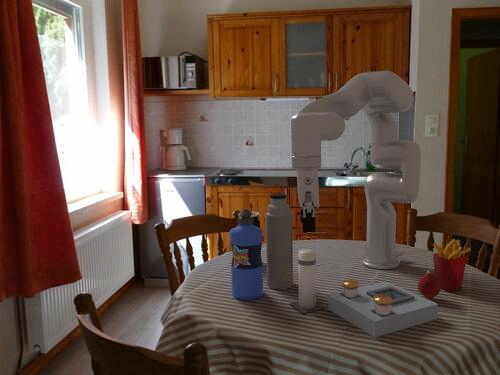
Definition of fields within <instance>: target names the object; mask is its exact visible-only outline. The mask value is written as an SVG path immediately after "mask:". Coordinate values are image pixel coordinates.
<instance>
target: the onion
mask: <svg viewBox="0 0 500 375" xmlns="http://www.w3.org/2000/svg"><path fill="white" fill-rule="evenodd" d="M417 289H418V292H419V293H420V294H421V295H422V297H423V298H425V299H428V300H431V299H434V298H435V297H436V296H438V295H439V294H440V293H441V290H442V289H441V288H440V283H439V281H438V279H437V278H436V277H435V274H434V275H433V274H432V273H431V271H429V270H427V271H426V274H424V275H422V276H421V277H420V278H419V280H418V281H417Z"/></svg>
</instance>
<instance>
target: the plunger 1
mask: <svg viewBox="0 0 500 375" xmlns="http://www.w3.org/2000/svg"><path fill="white" fill-rule="evenodd" d="M341 283H342V287H343V291H344V297H345V298H347V299H349V300H350V299H354V298H358V288H360V282H359V281H357V280H355V279H345V280H343V281H342V282H341Z"/></svg>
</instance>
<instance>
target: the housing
mask: <svg viewBox="0 0 500 375" xmlns="http://www.w3.org/2000/svg"><path fill="white" fill-rule="evenodd" d="M376 295H386V296H390V297H391V298H392V304H391V315H389V316H385V317H380V316H379V315H377V314H375V302H374V296H376ZM438 307H439V304H438V303H436V302H434V301H432V300H431V299H426V298H425V297H424V296H421V295H418V294H416V293H413V291H412V292H411V291H409V290H406V289H404V288H402V287H400V286H398V285H395V284H393V283H390V282H389V281H382V282H378V283H374V284H370V285H365V286H359V287H358V298H354V299H350V300H349V299H347V298H345V297H344V290H343V291H339V292H334V293H331V294H328V295H327V310H329V311H330V312H332V313H334V314H335V315H337V316H338V317H340V318H341V319H343V320H345V321H347V322H348V323H350V324H351V325H353V326H355V327H356V328H358V329H360V330H362V331H363V332H364V333H366V334H368V335H369V336H371V337H372V338H375V339H376V338H379V337H383V336H386V335H389V334H392V333H396V332H399V331H402V330H406V329H408V328H409V329H410V328H413V327H415V326H419V325H422V324H426V323H429V322H432V321H436V320H438V312H439V311H438V310H439V308H438Z"/></svg>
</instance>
